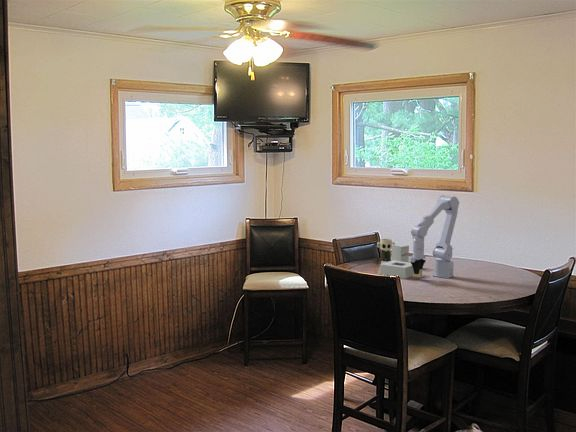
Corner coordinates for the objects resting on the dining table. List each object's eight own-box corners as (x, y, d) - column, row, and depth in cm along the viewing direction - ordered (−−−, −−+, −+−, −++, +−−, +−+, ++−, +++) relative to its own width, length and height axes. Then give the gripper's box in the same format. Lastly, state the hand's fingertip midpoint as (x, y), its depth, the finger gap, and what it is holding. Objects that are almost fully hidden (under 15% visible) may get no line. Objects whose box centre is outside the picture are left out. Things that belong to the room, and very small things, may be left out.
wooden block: (422, 276, 332) (422, 269, 332) (419, 277, 330) (420, 269, 329) (415, 275, 335) (415, 268, 334) (412, 276, 332) (413, 268, 332)
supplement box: (400, 268, 362) (401, 246, 360) (390, 265, 367) (391, 244, 366) (408, 266, 366) (409, 245, 365) (399, 264, 372) (399, 243, 370)
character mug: (377, 261, 381) (377, 240, 380) (376, 259, 388) (376, 238, 387) (395, 261, 380) (395, 240, 379) (393, 259, 388) (394, 238, 386)
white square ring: (416, 274, 345) (417, 263, 344) (405, 278, 333) (405, 267, 332) (392, 270, 354) (392, 260, 353) (380, 275, 342) (380, 264, 341)
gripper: (417, 245, 339) (416, 270, 340) (405, 249, 327) (404, 274, 329) (429, 247, 334) (428, 271, 336) (418, 251, 323) (417, 276, 324)
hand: (417, 273), depth 332 cm, fingers closed on wooden block, 3 cm apart
